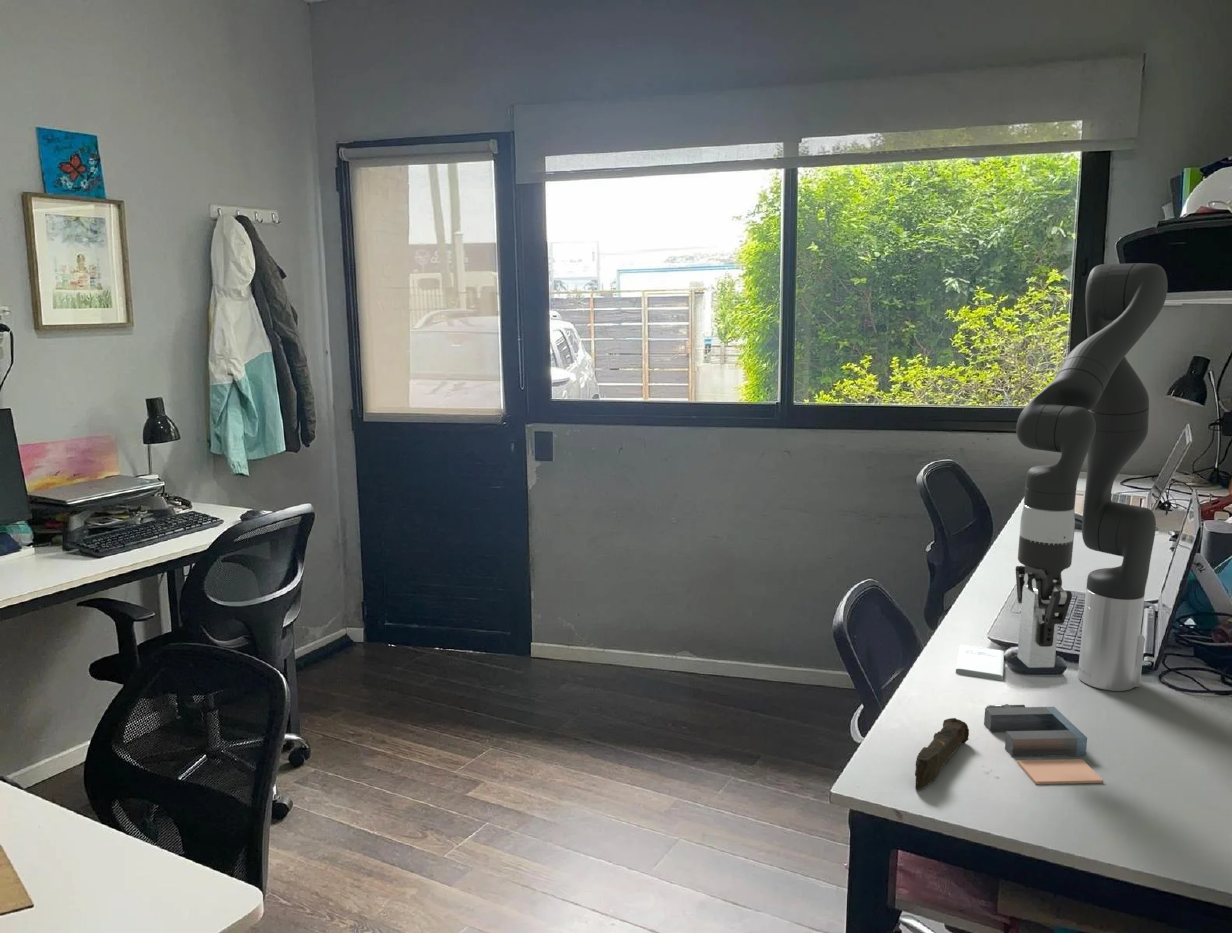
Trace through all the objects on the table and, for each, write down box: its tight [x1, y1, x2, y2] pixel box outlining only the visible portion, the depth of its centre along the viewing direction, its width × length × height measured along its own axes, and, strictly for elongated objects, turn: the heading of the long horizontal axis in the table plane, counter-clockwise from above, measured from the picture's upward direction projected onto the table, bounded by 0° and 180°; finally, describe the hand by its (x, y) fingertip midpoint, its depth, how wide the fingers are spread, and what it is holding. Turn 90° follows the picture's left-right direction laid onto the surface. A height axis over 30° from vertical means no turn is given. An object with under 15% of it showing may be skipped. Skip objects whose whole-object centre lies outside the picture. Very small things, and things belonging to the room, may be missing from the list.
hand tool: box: [914, 717, 970, 791], centre depth 140 cm, size 19×4×5 cm, turn 141°
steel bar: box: [1017, 586, 1059, 668], centre depth 143 cm, size 4×4×12 cm
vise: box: [983, 703, 1088, 758], centre depth 149 cm, size 12×14×3 cm
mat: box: [1016, 758, 1104, 785], centre depth 137 cm, size 10×6×1 cm, turn 91°
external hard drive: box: [955, 644, 1005, 681], centre depth 176 cm, size 2×8×12 cm
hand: (1037, 639), depth 144 cm, fingers closed on steel bar, 4 cm apart
